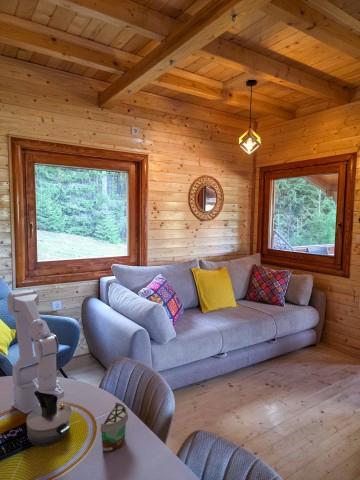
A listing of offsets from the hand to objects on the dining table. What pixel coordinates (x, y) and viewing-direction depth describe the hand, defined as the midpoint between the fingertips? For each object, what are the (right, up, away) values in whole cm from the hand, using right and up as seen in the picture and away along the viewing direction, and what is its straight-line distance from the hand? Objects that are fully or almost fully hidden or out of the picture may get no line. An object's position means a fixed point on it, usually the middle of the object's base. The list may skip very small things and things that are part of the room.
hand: (48, 411), depth 106 cm
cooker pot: (0, -7, +1) cm, 7 cm away
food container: (+24, -8, -4) cm, 26 cm away
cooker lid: (0, -2, +1) cm, 2 cm away
